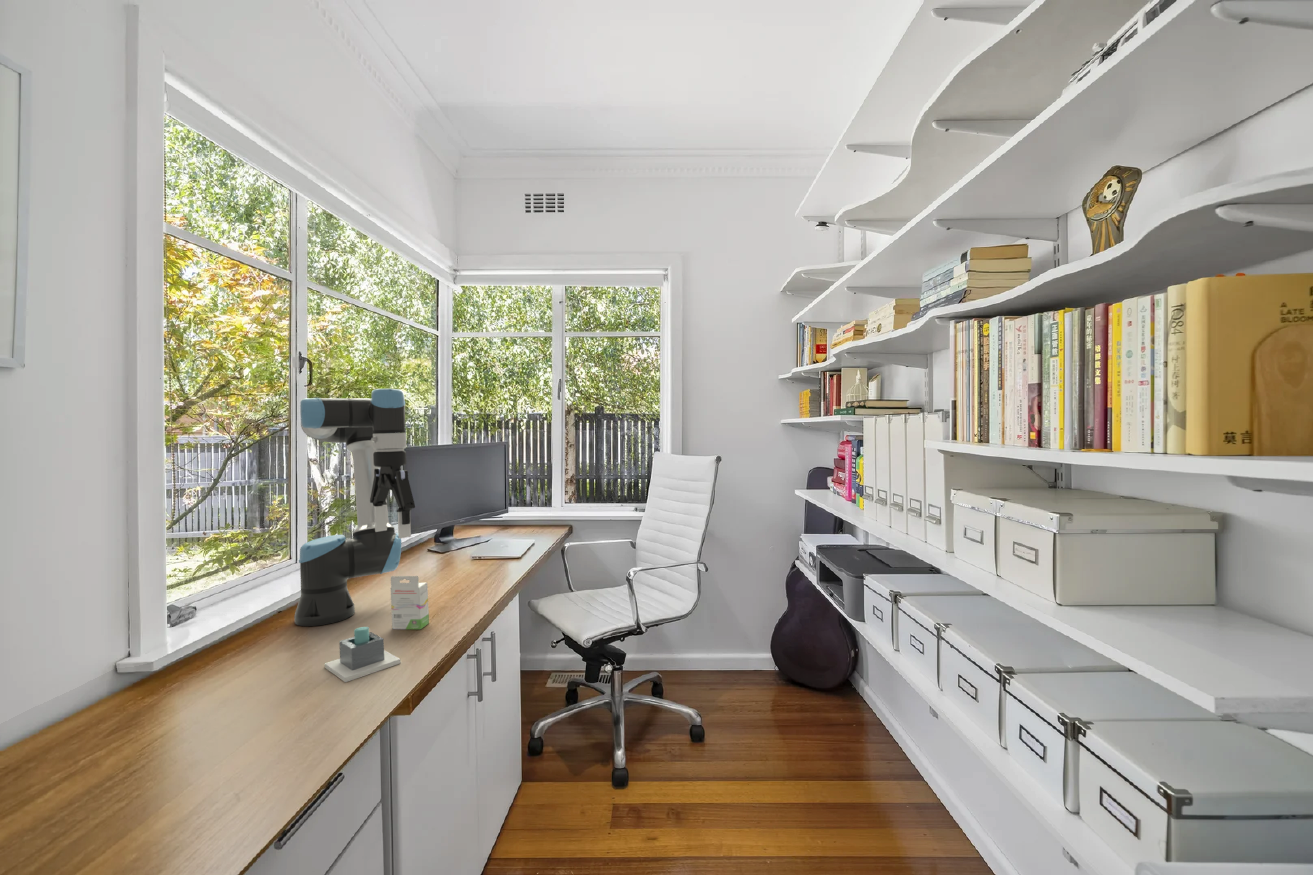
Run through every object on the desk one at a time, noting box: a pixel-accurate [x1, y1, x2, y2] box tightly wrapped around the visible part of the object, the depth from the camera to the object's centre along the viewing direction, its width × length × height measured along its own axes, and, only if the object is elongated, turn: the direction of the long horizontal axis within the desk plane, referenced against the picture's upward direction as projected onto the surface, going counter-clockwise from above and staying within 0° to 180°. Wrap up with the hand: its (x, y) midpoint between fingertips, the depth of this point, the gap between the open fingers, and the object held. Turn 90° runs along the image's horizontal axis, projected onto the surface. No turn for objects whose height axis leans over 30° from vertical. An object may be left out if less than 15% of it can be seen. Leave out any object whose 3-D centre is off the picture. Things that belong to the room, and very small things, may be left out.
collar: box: [338, 631, 385, 671], centre depth 128 cm, size 7×7×5 cm
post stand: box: [324, 626, 401, 683], centre depth 128 cm, size 12×12×8 cm
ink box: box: [390, 575, 430, 630], centre depth 152 cm, size 9×5×15 cm, turn 84°
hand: (392, 534), depth 139 cm, fingers open, 13 cm apart
